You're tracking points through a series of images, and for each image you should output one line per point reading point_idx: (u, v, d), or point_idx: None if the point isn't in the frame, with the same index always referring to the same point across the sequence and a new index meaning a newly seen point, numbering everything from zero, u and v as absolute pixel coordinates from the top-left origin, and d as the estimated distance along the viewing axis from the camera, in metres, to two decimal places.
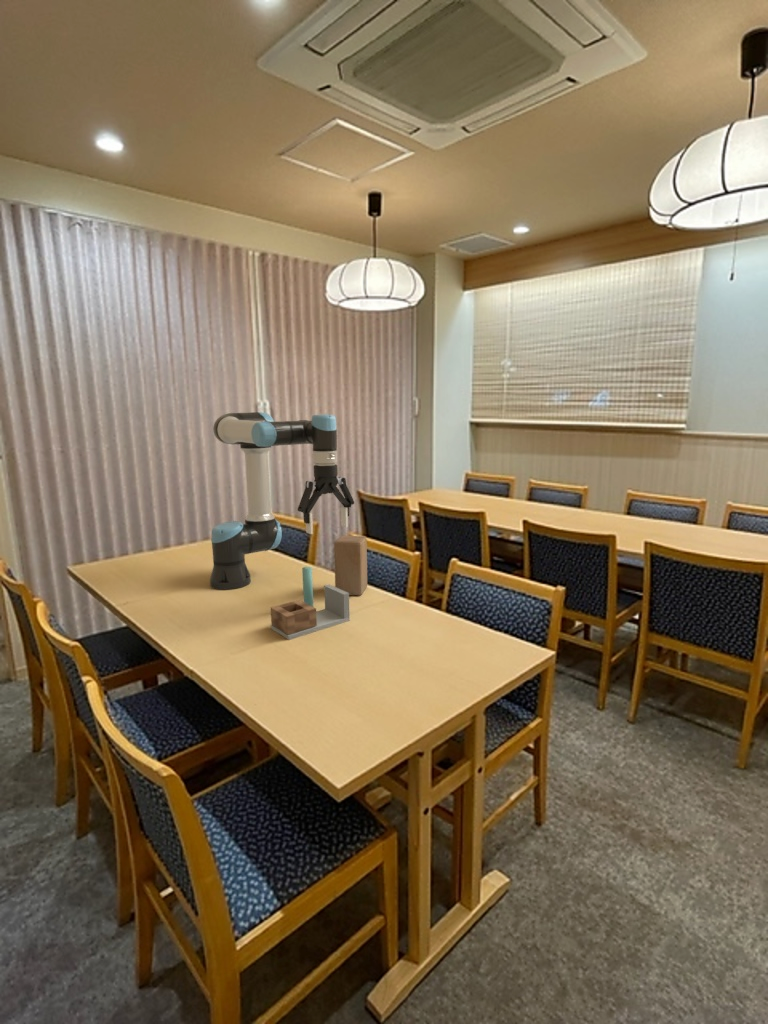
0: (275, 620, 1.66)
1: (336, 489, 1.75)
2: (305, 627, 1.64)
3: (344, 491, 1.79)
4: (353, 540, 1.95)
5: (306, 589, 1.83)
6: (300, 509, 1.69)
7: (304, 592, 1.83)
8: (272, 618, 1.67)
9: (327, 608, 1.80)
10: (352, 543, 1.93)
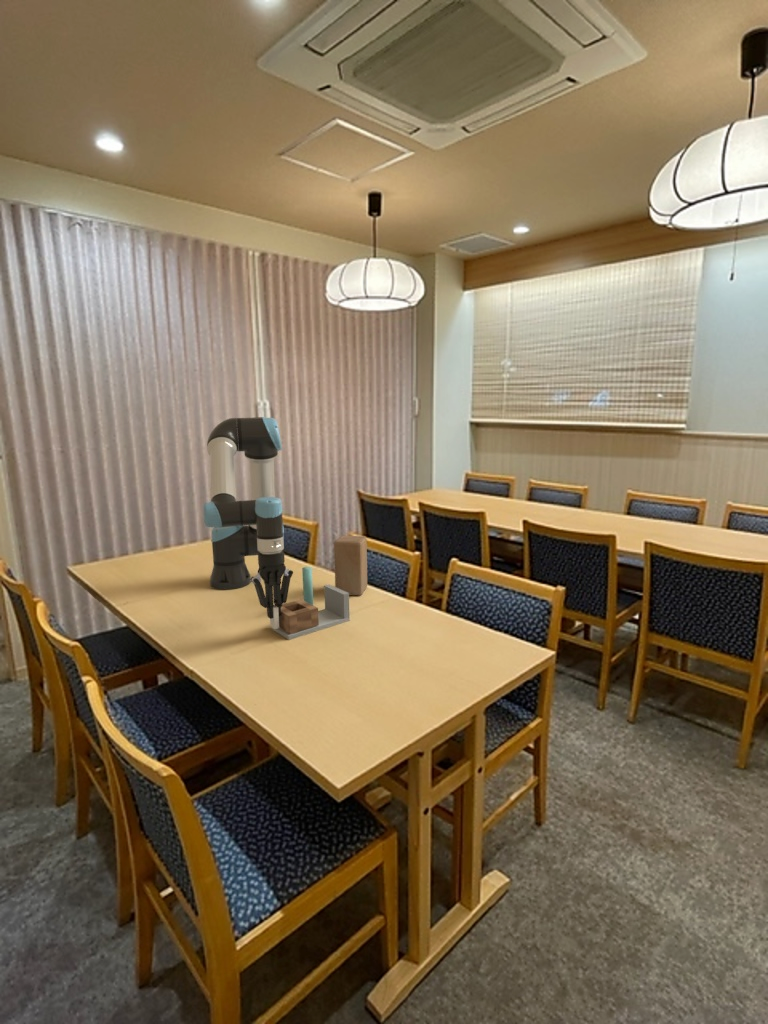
0: None
1: (279, 580, 1.60)
2: (307, 626, 1.65)
3: (284, 584, 1.63)
4: (353, 540, 1.95)
5: (306, 589, 1.83)
6: (263, 606, 1.59)
7: (304, 592, 1.83)
8: None
9: (327, 608, 1.80)
10: (352, 543, 1.93)
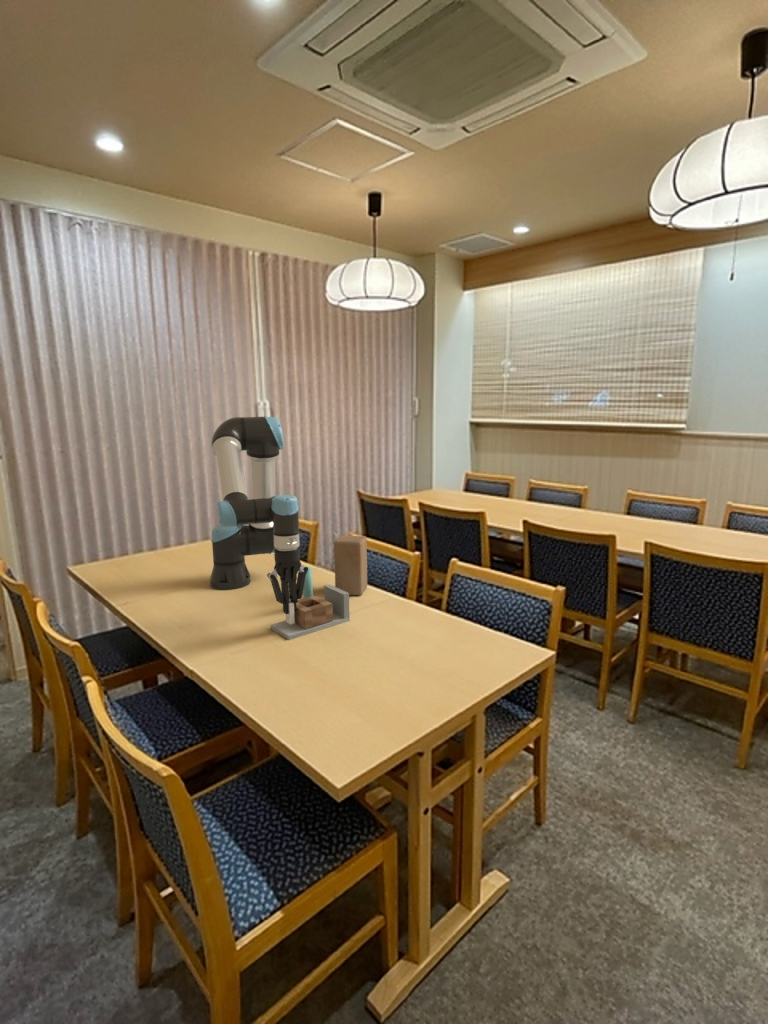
0: None
1: (294, 576, 1.63)
2: (322, 622, 1.68)
3: (299, 581, 1.66)
4: (353, 540, 1.95)
5: (306, 589, 1.83)
6: (279, 601, 1.63)
7: (304, 592, 1.83)
8: None
9: None
10: (352, 543, 1.93)
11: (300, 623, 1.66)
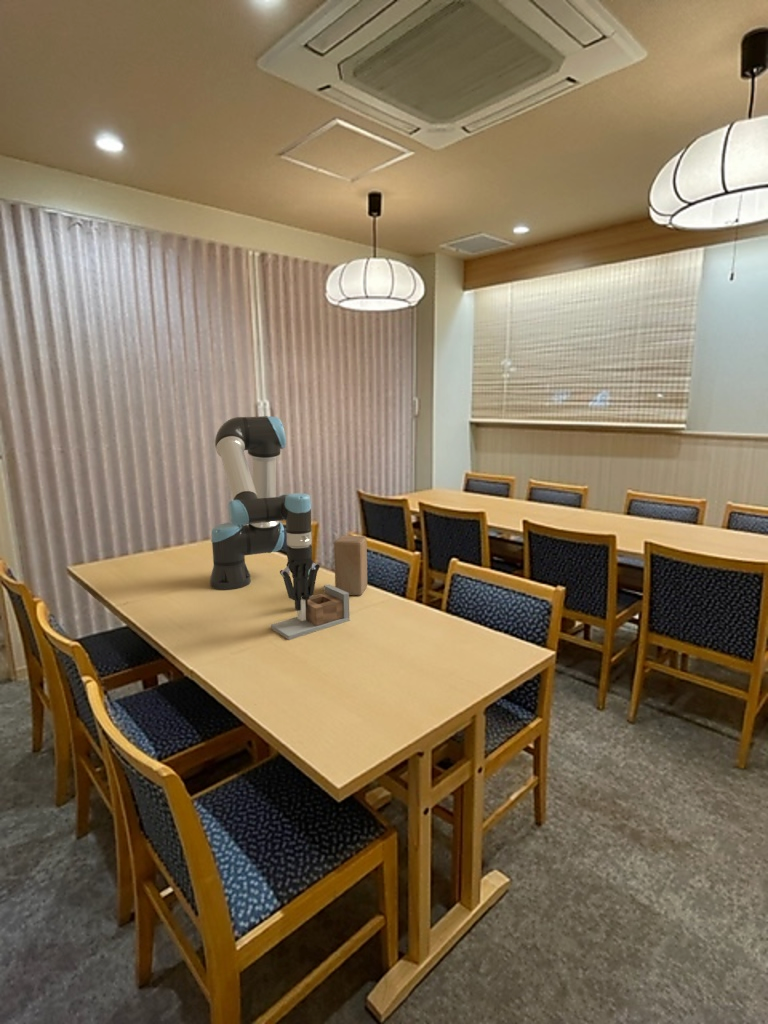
0: None
1: (306, 573, 1.66)
2: (332, 619, 1.71)
3: (311, 578, 1.69)
4: (353, 540, 1.95)
5: None
6: (291, 598, 1.65)
7: None
8: None
9: None
10: (352, 543, 1.93)
11: (311, 620, 1.69)
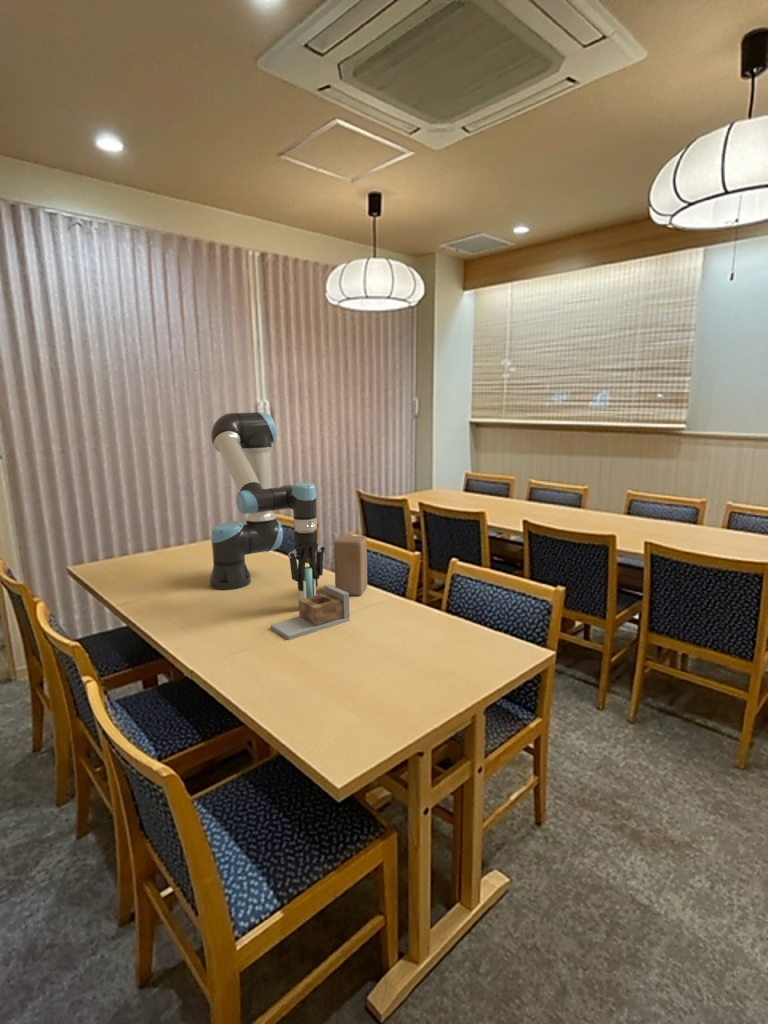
0: (303, 612, 1.72)
1: (313, 556, 1.82)
2: (332, 619, 1.71)
3: (318, 559, 1.85)
4: (353, 540, 1.95)
5: (306, 589, 1.83)
6: (294, 579, 1.80)
7: None
8: (300, 610, 1.73)
9: None
10: (352, 543, 1.93)
11: (311, 620, 1.69)
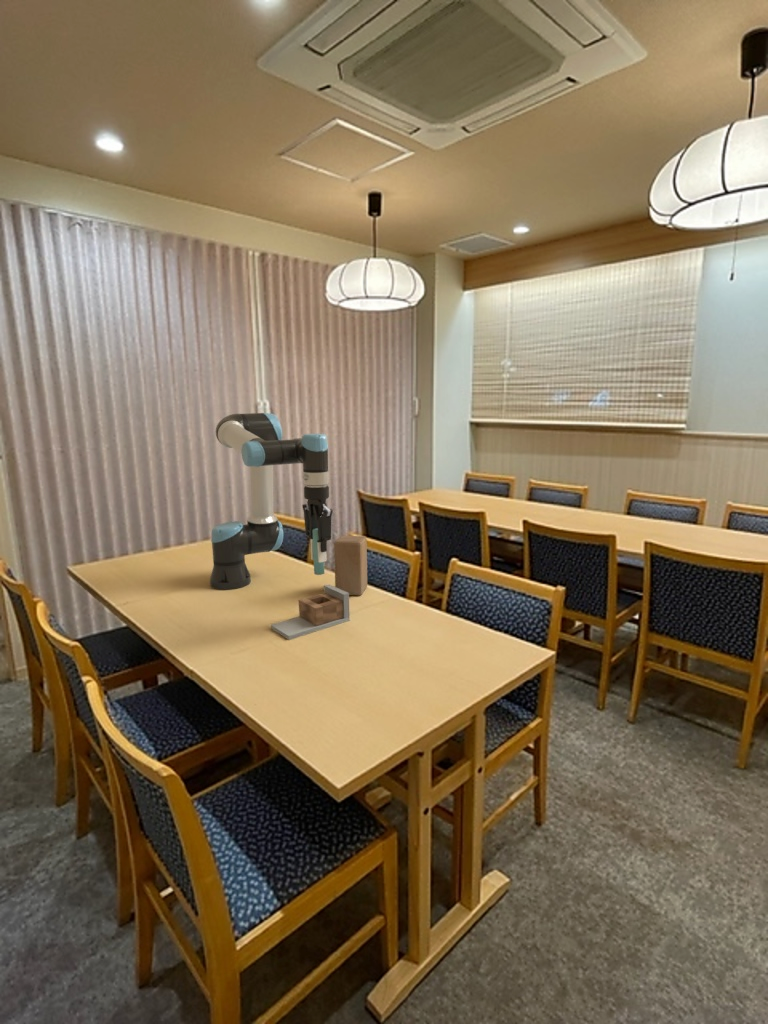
0: (303, 612, 1.72)
1: (315, 515, 1.65)
2: (332, 619, 1.71)
3: None
4: (353, 540, 1.95)
5: None
6: None
7: None
8: (300, 610, 1.73)
9: None
10: (352, 543, 1.93)
11: (311, 620, 1.69)
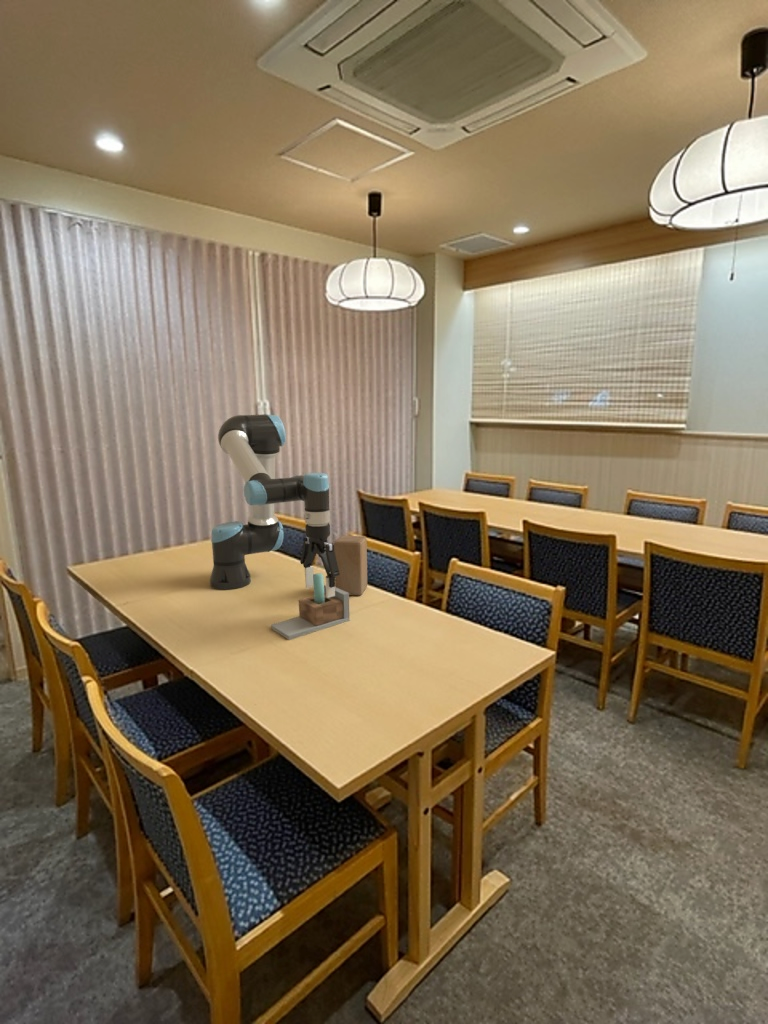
0: (303, 612, 1.72)
1: (318, 552, 1.66)
2: (332, 619, 1.71)
3: None
4: (353, 540, 1.95)
5: None
6: None
7: None
8: (300, 610, 1.73)
9: None
10: (352, 543, 1.93)
11: (311, 620, 1.69)
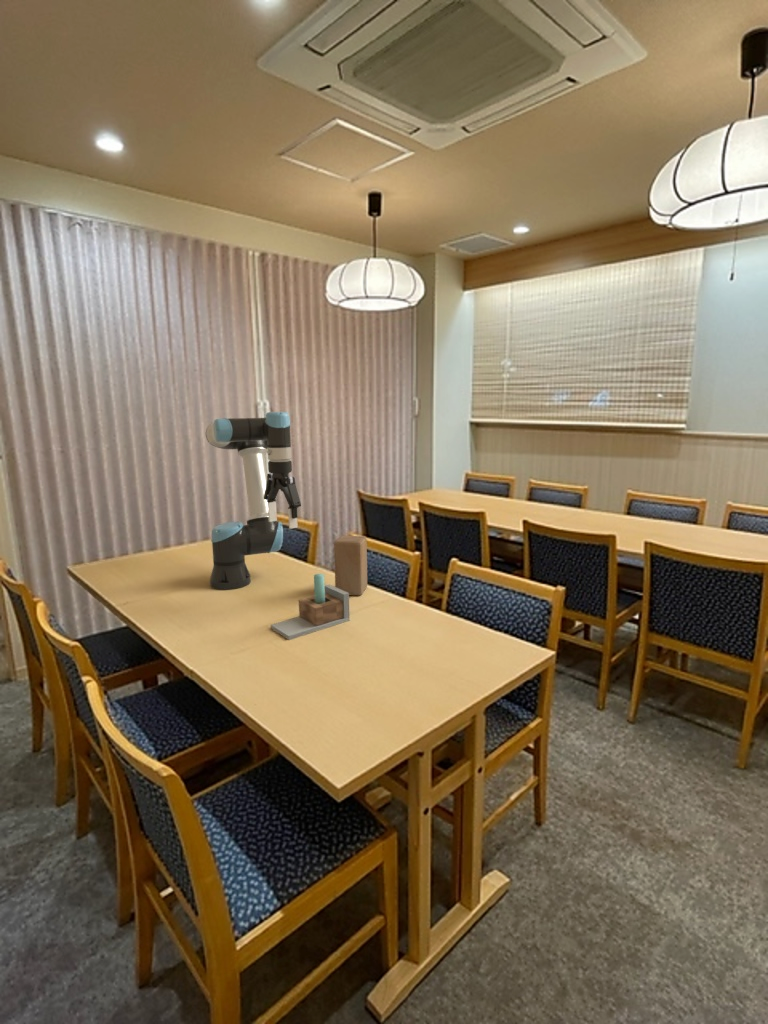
0: (303, 612, 1.72)
1: (280, 486, 1.75)
2: (332, 619, 1.71)
3: None
4: (353, 540, 1.95)
5: None
6: None
7: None
8: (300, 610, 1.73)
9: None
10: (352, 543, 1.93)
11: (311, 620, 1.69)
